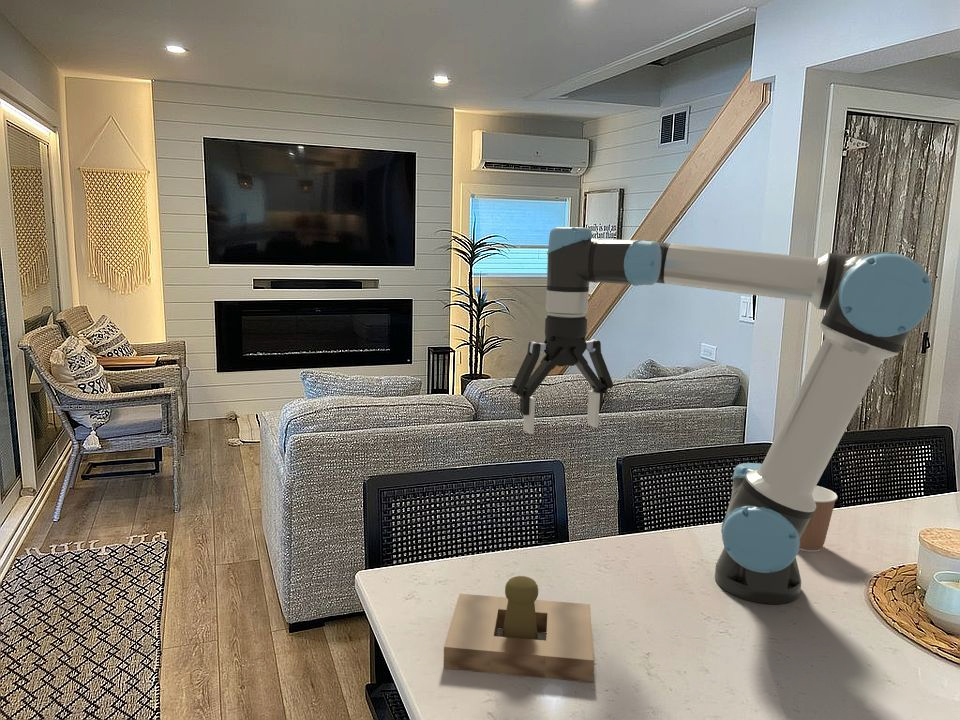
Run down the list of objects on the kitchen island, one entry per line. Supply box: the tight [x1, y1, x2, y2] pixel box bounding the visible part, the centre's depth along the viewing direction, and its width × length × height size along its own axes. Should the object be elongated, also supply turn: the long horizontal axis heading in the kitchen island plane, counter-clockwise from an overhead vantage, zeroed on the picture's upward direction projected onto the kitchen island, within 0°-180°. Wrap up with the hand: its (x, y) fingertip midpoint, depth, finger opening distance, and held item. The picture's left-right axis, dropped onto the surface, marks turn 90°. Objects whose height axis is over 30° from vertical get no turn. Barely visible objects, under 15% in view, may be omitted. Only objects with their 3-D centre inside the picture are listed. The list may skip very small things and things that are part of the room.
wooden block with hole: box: [443, 593, 595, 683], centre depth 112 cm, size 22×16×4 cm
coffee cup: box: [799, 485, 838, 553], centre depth 151 cm, size 10×10×12 cm
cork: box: [501, 575, 539, 640], centre depth 111 cm, size 6×6×11 cm
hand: (561, 428), depth 131 cm, fingers open, 13 cm apart
